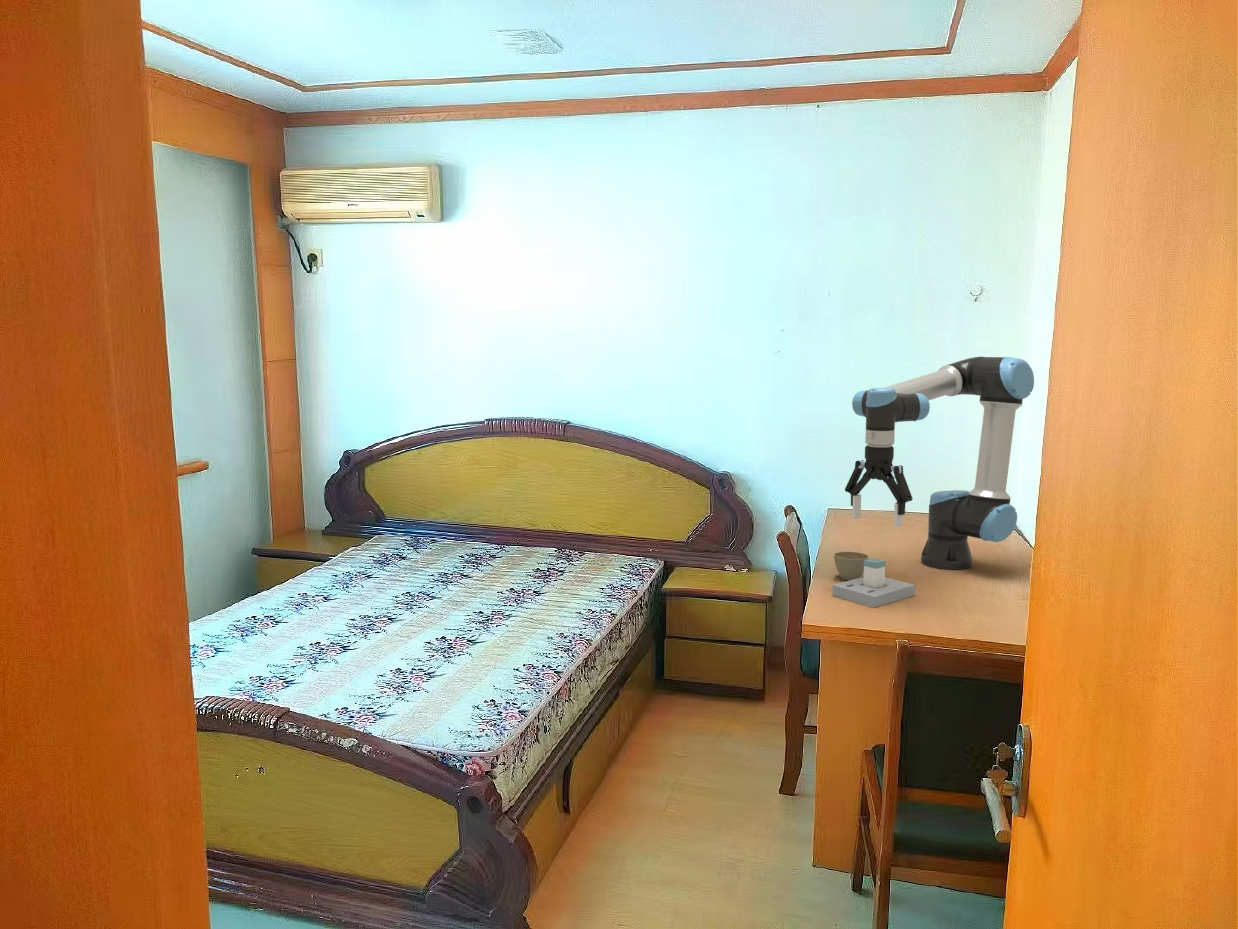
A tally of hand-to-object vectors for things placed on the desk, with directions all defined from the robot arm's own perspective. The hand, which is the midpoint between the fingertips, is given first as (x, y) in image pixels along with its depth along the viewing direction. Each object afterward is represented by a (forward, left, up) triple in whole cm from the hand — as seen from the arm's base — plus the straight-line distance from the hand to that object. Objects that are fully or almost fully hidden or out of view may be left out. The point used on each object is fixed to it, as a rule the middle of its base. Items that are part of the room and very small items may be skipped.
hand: (876, 522), depth 243 cm
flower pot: (-8, -15, -21) cm, 27 cm away
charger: (0, 0, -21) cm, 21 cm away
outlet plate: (0, 0, -21) cm, 21 cm away
